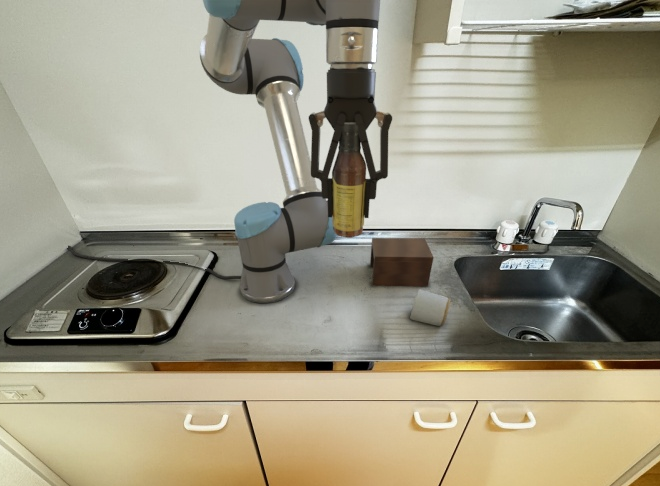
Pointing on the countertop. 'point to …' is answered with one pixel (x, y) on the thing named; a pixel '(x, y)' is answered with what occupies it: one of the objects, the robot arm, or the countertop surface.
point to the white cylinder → (430, 308)
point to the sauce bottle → (349, 184)
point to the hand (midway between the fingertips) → (348, 214)
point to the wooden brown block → (400, 262)
